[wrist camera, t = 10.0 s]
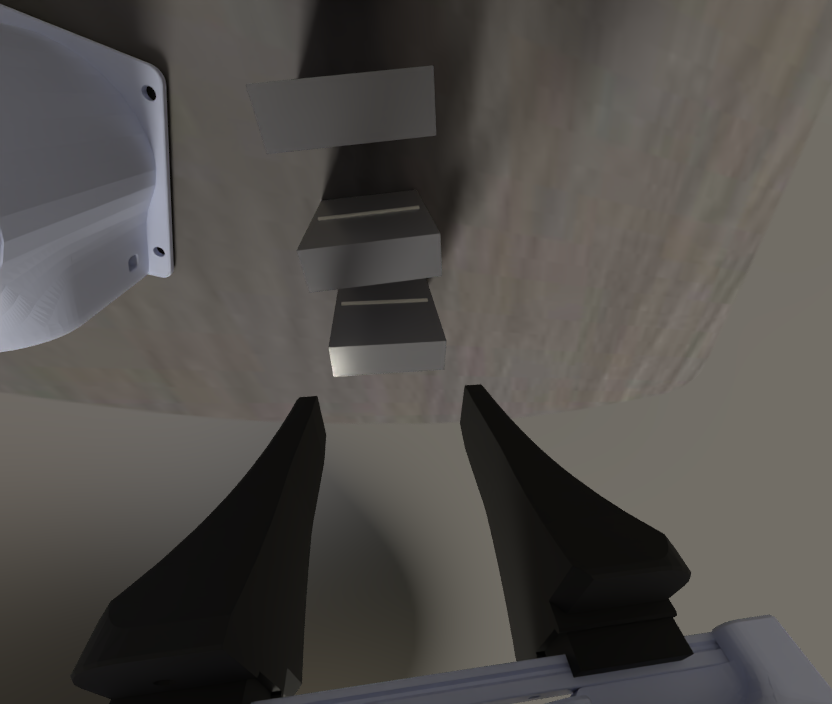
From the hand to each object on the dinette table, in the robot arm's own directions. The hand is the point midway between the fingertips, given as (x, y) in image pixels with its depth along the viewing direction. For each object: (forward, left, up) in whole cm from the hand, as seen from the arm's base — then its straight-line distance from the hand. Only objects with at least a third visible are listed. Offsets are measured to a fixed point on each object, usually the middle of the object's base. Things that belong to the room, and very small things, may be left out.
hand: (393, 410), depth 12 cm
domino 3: (0, 0, -10) cm, 10 cm away
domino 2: (+4, +2, -10) cm, 11 cm away
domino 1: (+8, +4, -10) cm, 14 cm away
